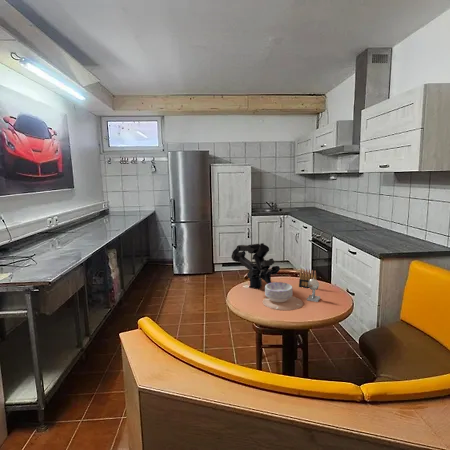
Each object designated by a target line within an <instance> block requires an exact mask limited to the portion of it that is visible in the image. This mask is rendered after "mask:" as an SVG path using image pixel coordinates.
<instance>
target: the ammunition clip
mask: <svg viewBox="0 0 450 450" xmlns="http://www.w3.org/2000/svg"><path fill="white" fill-rule="evenodd" d="M311 279H316V280H317V272H316V270H313V269H311V270H310V269H307V268H306V269H305V268H303V269H302V268H300V270H299V281H298V282H299V283H298V288H302V287H303V289H308V288H309V287H308V282H309V280H311Z"/></svg>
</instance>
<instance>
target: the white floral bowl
mask: <svg viewBox="0 0 450 450" xmlns="http://www.w3.org/2000/svg"><path fill="white" fill-rule="evenodd" d="M293 292H294V291H293V286H292V284H290V283H287V282H282V281H279V282H277V281H276V282H275V281H274V282H271V283H266V284H265V286H264V295H265V297H269V299H270V300H271V301H273V302H278V303H281V302H286V301H287V300H288V299H289V298H290V297H292V296H293V294H294V293H293Z"/></svg>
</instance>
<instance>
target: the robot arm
mask: <svg viewBox="0 0 450 450" xmlns="http://www.w3.org/2000/svg"><path fill="white" fill-rule="evenodd" d="M246 252H247V253H248V254H251V255H252V254H253V255H252V258H251V259H252V260H254V262H252V261H250V260H249V258H247V257H246ZM269 252H270V247H269V246H268V245H266V244H265V243H264V242H263V243H251V244H239V245H237V246H236V248H235V249H234V250H233V251H232V253H231V259H232V261H233V262H235V263H239V264H241V265H242V266H243V267H245V268H246V269H247V270H248V272H247V277H248V279H249V286H248V288H251V289H258V290H259V289H260V288H261V287H263V284H262V283H263V282H262V281H265V282H266V284H268V283H272V279H271V277H272V275H277V274H278V272H279V271H280V270H281V268H280V266H279V265H273V264H275V260H274V258H269V259H267V260H266V259H265V257H266V255H267V254H268V253H269ZM271 266H272V267H271ZM270 267H271V268H270Z"/></svg>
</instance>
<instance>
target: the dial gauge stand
mask: <svg viewBox="0 0 450 450" xmlns="http://www.w3.org/2000/svg"><path fill="white" fill-rule="evenodd" d="M308 287H309V288H310V289H309V290H312V291H311V292H312V293H311V294H309V295H308V296H307V297H306V301H310V302H314V303H315V302H316V303H318V302H319V301H320V299H321V296H319V295H316V290H318V288H320V283H319V281H318V280H317V278H316V279H314V278H313V279H311V280H309V282H308Z"/></svg>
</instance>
